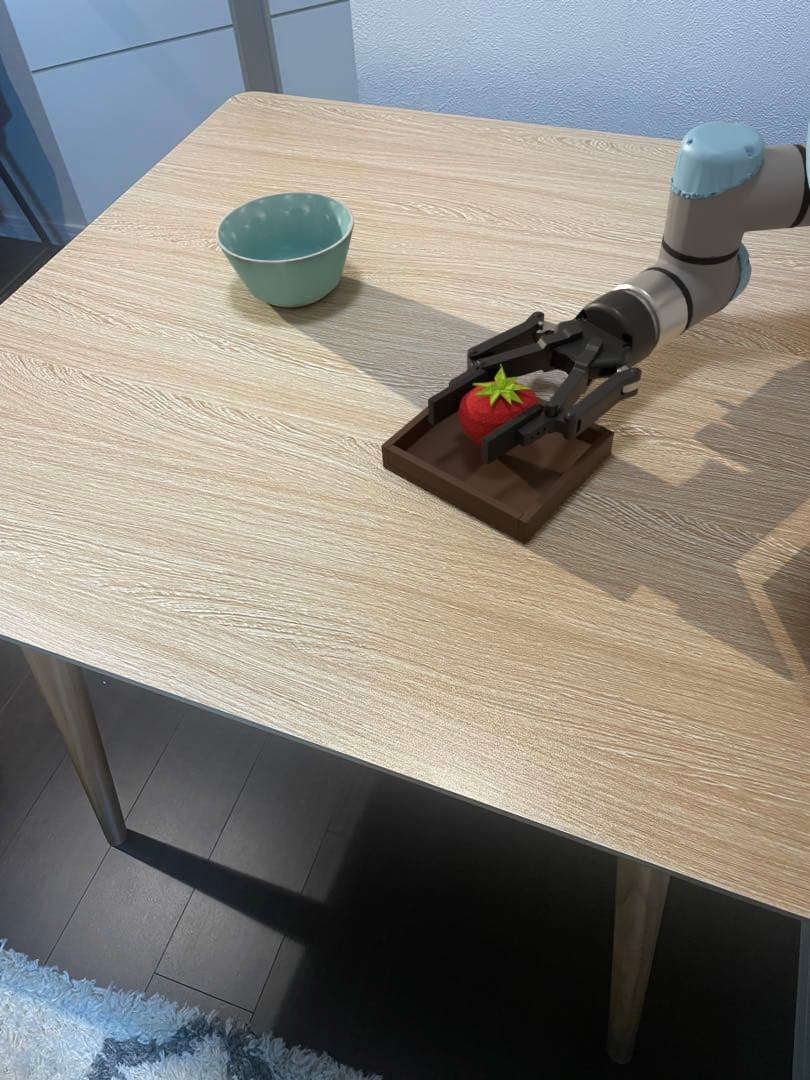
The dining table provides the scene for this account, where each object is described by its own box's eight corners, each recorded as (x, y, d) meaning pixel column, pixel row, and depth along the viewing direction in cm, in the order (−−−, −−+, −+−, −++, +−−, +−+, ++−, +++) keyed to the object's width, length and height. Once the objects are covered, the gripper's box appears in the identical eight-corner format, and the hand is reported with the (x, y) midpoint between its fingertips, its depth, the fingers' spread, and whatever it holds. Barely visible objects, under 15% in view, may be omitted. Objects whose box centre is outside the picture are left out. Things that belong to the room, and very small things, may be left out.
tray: (611, 453, 88) (614, 431, 86) (524, 544, 81) (526, 523, 79) (473, 388, 96) (473, 367, 94) (382, 466, 89) (380, 445, 86)
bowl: (204, 287, 111) (189, 224, 105) (307, 237, 117) (299, 176, 111) (279, 343, 103) (267, 278, 96) (386, 286, 109) (381, 223, 103)
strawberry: (452, 439, 90) (451, 356, 82) (527, 427, 90) (533, 344, 83) (464, 480, 86) (464, 397, 78) (543, 468, 86) (550, 385, 79)
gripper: (701, 399, 88) (533, 518, 79) (554, 314, 98) (390, 412, 89) (717, 334, 83) (538, 455, 73) (560, 252, 93) (385, 349, 84)
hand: (457, 431), depth 81 cm, fingers closed on strawberry, 6 cm apart
